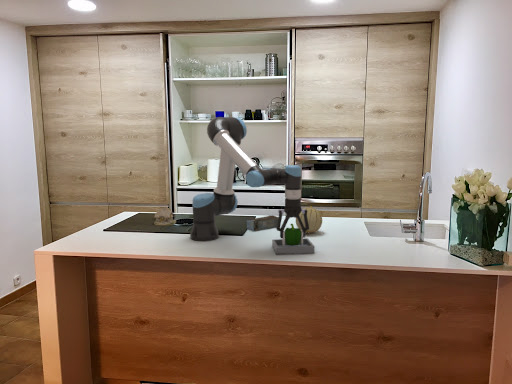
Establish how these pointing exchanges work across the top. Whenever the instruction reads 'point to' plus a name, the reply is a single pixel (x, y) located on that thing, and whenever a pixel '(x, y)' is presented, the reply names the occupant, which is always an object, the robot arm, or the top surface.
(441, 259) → the top surface
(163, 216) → the ceramic model
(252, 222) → the beverage carton
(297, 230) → the bell pepper
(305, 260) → the top surface
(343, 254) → the top surface
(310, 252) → the tray
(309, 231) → the cantaloupe
